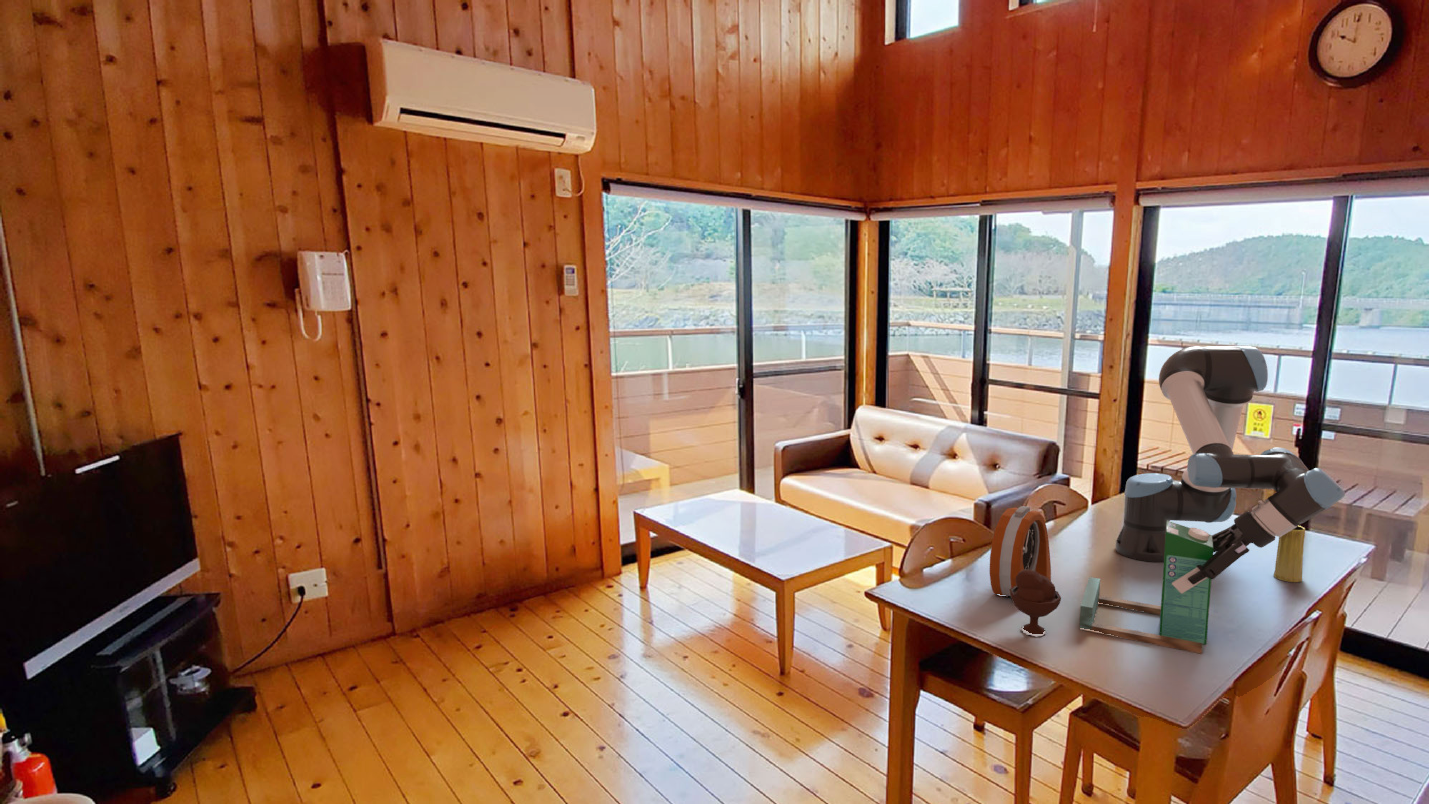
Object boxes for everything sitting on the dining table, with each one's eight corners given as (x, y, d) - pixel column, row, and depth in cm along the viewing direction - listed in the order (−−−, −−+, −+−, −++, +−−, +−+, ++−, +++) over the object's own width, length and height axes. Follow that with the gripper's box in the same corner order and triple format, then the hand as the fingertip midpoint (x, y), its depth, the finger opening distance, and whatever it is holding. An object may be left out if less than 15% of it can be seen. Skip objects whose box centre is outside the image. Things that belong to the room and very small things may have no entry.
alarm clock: (1026, 609, 185) (1029, 522, 181) (987, 599, 191) (989, 515, 188) (1056, 581, 201) (1059, 501, 197) (1019, 573, 207) (1022, 495, 204)
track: (1199, 618, 176) (1201, 595, 175) (1201, 653, 161) (1203, 627, 160) (1087, 599, 189) (1088, 577, 188) (1079, 629, 173) (1080, 605, 172)
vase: (1307, 583, 194) (1312, 531, 191) (1280, 582, 195) (1285, 530, 193) (1294, 574, 200) (1299, 523, 197) (1268, 573, 201) (1273, 522, 199)
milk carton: (1206, 645, 164) (1214, 537, 160) (1159, 636, 169) (1165, 531, 165) (1205, 628, 172) (1213, 525, 168) (1160, 620, 176) (1166, 519, 172)
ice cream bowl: (1035, 646, 166) (1037, 583, 164) (998, 626, 176) (1000, 566, 174) (1069, 636, 170) (1072, 574, 168) (1031, 617, 180) (1033, 558, 178)
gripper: (1244, 495, 170) (1164, 547, 181) (1254, 527, 149) (1163, 583, 160) (1271, 520, 168) (1189, 571, 179) (1284, 556, 148) (1190, 611, 158)
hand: (1176, 577), depth 169 cm, fingers open, 13 cm apart
